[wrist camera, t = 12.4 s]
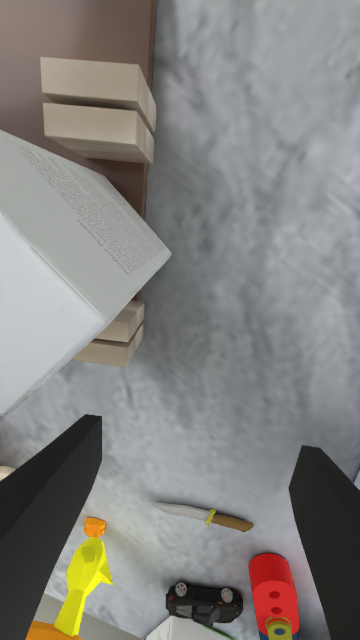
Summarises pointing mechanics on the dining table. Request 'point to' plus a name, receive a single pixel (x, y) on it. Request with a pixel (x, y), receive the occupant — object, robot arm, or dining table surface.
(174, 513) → the knife
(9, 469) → the toy airplane
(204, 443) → the dining table surface
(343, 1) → the dining table surface
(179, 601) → the toy car
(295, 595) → the mechanical component
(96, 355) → the book rack
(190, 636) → the white packaging box
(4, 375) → the cosmetic box
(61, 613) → the toy figure
